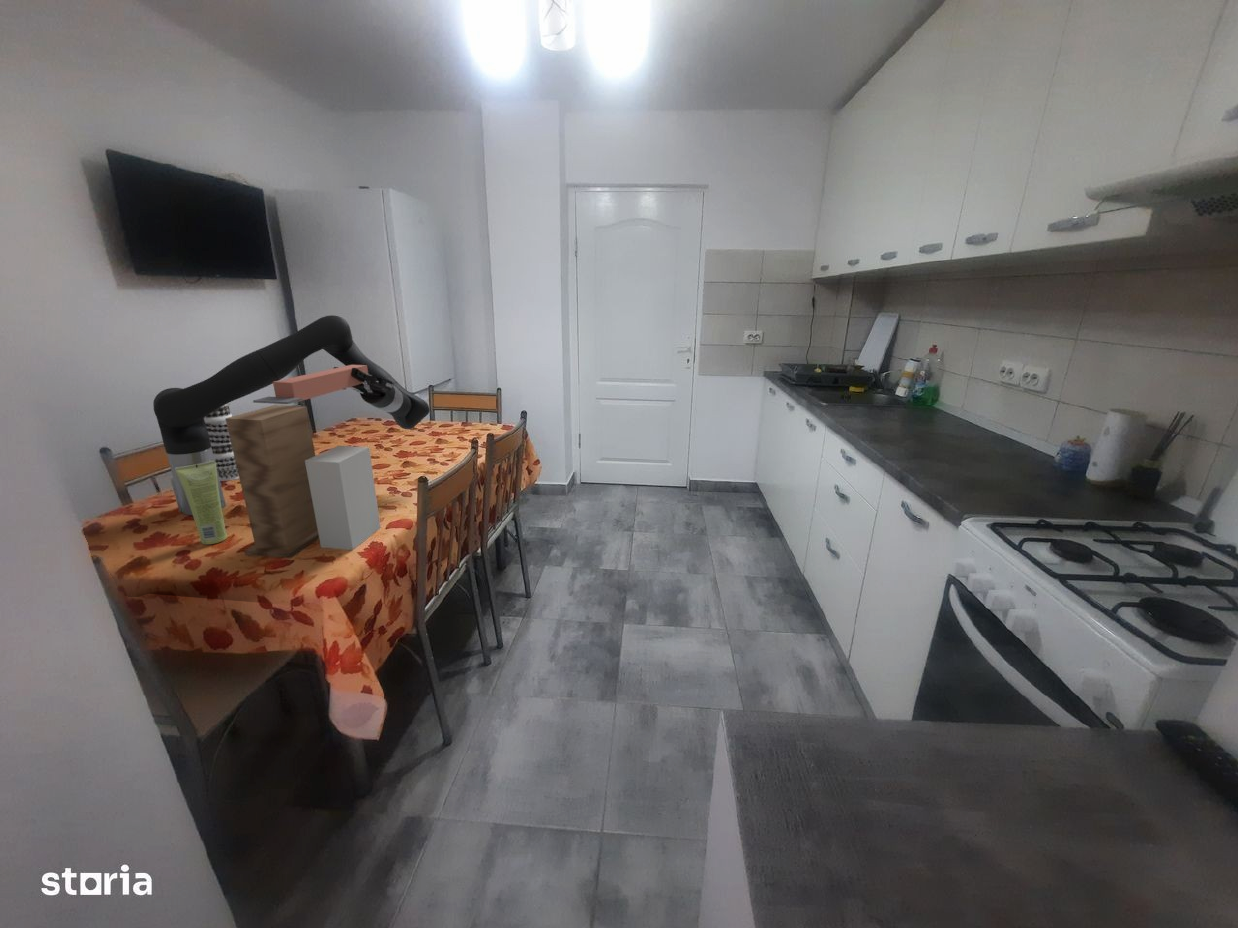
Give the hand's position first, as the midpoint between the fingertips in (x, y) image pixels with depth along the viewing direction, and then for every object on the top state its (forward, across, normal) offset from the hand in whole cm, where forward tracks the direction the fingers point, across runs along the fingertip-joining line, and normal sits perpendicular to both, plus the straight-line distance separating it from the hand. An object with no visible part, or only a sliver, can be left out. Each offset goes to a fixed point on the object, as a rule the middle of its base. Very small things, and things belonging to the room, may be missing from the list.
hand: (343, 371), depth 115 cm
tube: (-9, -31, +42) cm, 53 cm away
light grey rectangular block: (-14, 0, +38) cm, 41 cm away
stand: (-12, -13, +40) cm, 44 cm away
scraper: (+6, 0, +7) cm, 9 cm away
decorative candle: (-44, -63, +22) cm, 80 cm away
